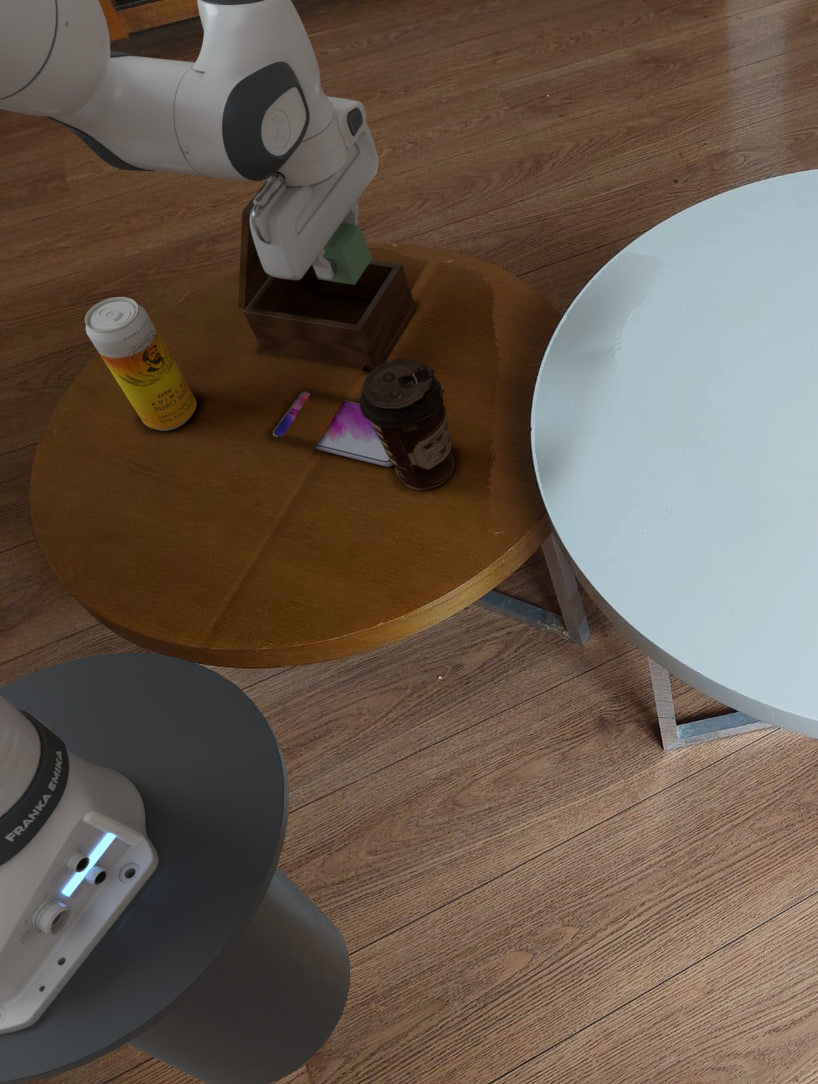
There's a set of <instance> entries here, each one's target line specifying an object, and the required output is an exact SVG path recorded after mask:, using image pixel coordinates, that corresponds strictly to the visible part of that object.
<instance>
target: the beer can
mask: <svg viewBox="0 0 818 1084" xmlns="http://www.w3.org/2000/svg"><path fill="white" fill-rule="evenodd" d="M84 324H85V333H86V335H87V336H88V338H89V340H90V342H92V344H93V346H94V348H95V350H96V351H97V353H98V354H99V355H100V357H101V359H102V360H103V362H104V363H105V365H106V366H107V368H108V370H109V371H110V373H111V374H112V376H113V377H114V379H115V381H116V382H117V384H118V386H119V387H120V389H121V391H123V392H122V393H124V395H125V396H126V398H127V399H128V402H129V403H130V404H131V406H132V407H133V409H134V411H135V412H136V414H137V415H138V417H139V418H140V420H141V422H142V423H143V424H144V425H145V426H146V427H148V428H151V429H154V430H158V431H163V432H167V431H172V430H175V429H177V428H180V427H181V426H183V425H184V424H186V423H187V422H188V421H189V420H190V419H191V417H192V416H193V414H194V413H195V411H196V409H197V405H198V404H197V403H198V402H197V399H196V397H195V395H194V394H193V392H192V390H191V388H190V386H189V384H188V383H187V382H186V379H185V378H184V376H183V374H182V373H181V371H180V369H179V367H178V365H177V363H176V362H175V360H174V358H173V356H172V355H171V353H170V351H169V349H168V348H167V346H166V344H165V342H164V340H163V339H162V337H161V335H160V333H159V331H158V330H157V328H156V327H155V325H154V323H153V321H152V320H151V318H150V315H149V314H148V313H147V310H146V309H145V307H143V306H142V305H141V304H139V303H138V302H136V301H135V300H134V299H133V298H130V297H126V296H116V297H115V296H114V297H109V298H106V299H104V300H101V301H99V302H98V303H96V304H94V305H93V306H91V307H90V309H89V310H88V311H87V312H86V314H85V316H84Z"/></svg>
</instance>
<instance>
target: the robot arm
mask: <svg viewBox="0 0 818 1084" xmlns="http://www.w3.org/2000/svg"><path fill="white" fill-rule="evenodd" d="M196 1H197V8H198V9H197V10H198V13H199V14H198V15H199V18H200V21H201V25H202V29H203V40H202V43H201V44H202V45H201V49H200V52H199V54H198V57H197V59H196V61H195V62H194V61H184V60H174V59H165V58H155V57H146V56H143V55H139V54H134V53H126V52H122V51H115V50H114V51H113V50H112V51H111V38H110V36H111V35H110V30H109V26H108V23H107V18H106V16H105V13H104V11H103V8H102V5H101V4H100V1H99V0H0V110H5V111H9V112H11V113H12V112H13V113H18V114H23V115H29V116H30V115H31V116H38V117H42V118H45V119H47V120H50V121H52V122H55V123H57V124H58V125H60V126H63V127H64V128H66V129H67V130H70V131H71V132H72V133H73V134H74V135H76V136H77V138H79V139H80V140H81V141H82V142H83V143H84V144H85V145H86V146H87V147H88V148H89V149H90V150H91V151H92V152H93V153H94V154H95V155H96V156H98V158H100V159H101V160H102V161H104V162H105V163H107V164H108V165H110V166H111V167H114V168H116V169H119V170H123V171H133V172H134V171H135V172H136V171H137V172H162V173H163V172H164V173H172V174H179V175H188V176H194V177H195V176H196V177H202V178H203V177H204V178H212V179H213V178H214V179H220V180H221V179H222V180H228V181H229V180H230V181H240V182H263V181H268V182H267V183H266V185H265V187H264V188H263V190H262V191H261V192H260V193H258V194H257V196H256V197H255V199H254V201H253V204H254V207H253V209H252V211H251V214H250V228H251V233H252V237H253V240H254V243H255V247H256V250H257V253H258V256H259V258H260V261H261V264H262V266H263V269H264V271H265V272H266V273H267V274H268V275H271V276H273V277H277V278H281V279H288V280H300V279H301V278H302V277H303V276H304V275H305V273H306V272H307V270H308V269H309V268H310V266H311V265H313V267H314V269H315V271H316V274H317V276H318V277H320V278H322V279H329V280H330V279H332V278H333V276H334V274H335V273H336V272H337V267H336V264H335V261H334V259H331V258H324V257H323V256H322V255H324V254H325V251H324V247H325V245H326V244H327V242H328V241H329V239H330V238H331V237H332V235H333V234H334V232H335V231H336V230H337V228H338V227H339V225H340V224H341V223H342V224H348V225H355V226H359V203H358V200H359V199H360V198H361V196H362V195H363V193H364V192H365V191H366V189H367V188H368V186H369V185H370V184H371V182H372V181H373V179H374V178H375V176H377V173H378V170H379V155H378V151H377V148H376V143H375V141H374V138H373V135H372V131H371V129H370V126H369V125H368V124H367V122H366V119H367V113H366V109H365V106H364V104H363V102H361V101H358V100H354V99H348V98H344V97H343V98H342V97H335V96H327V95H326V93H325V92H324V90H323V87H322V84H321V69H320V66H319V63H318V60H317V57H316V55H315V51H314V48H313V46H312V43H311V41H310V38H309V36H308V33H307V31H306V28H305V25H304V24H303V21H302V19H301V17H300V15H299V12H298V11H297V9H296V7H295V5H294V3H293V2H292V0H196ZM158 863H159V857H158V853H157V851H156V849H155V847H154V846H153V844H152V842H151V841H150V839H149V838H148V836H147V832H146V820H145V808H144V804H143V800H142V798H141V795H140V793H139V791H138V790H137V788H136V787H135V785H134V784H133V783H132V782H131V781H130V780H129V779H128V778H127V777H125V776H124V775H122V774H121V773H119V772H117V771H115V770H112V769H109V768H106V767H102V766H98V765H95V764H92V763H90V762H88V761H86V760H84V759H82V758H80V757H78V756H77V755H75V754H73V753H71V752H70V751H68V750H67V749H66V746H65V743H64V742H63V741H62V740H61V739H60V738H59V737H58V736H56V735H55V732H54V731H53V730H52V729H50V728H49V727H48V726H47V725H46V724H44V723H43V722H42V721H40V720H39V719H37V718H36V717H34V716H32V715H31V714H29V713H28V712H26V711H24V710H17V709H16V708H15V707H13V706H12V705H11V704H10V703H9V702H8V701H7V700H6V699H4V698H3V697H2V696H1V695H0V1035H1V1034H6V1033H11V1032H15V1031H18V1030H21V1029H24V1028H27V1027H29V1026H31V1025H33V1024H34V1023H35V1022H36V1021H37V1020H38V1019H39V1018H40V1017H41V1016H42V1014H43V1013H44V1012H45V1010H46V1009H47V1008H48V1007H49V1005H50V1004H51V1003H52V1002H53V1000H54V999H55V998H56V997H57V995H58V994H59V993H60V991H61V990H62V989H63V988H64V986H65V985H66V984H67V982H68V981H69V980H70V979H71V977H72V976H73V975H74V973H75V972H76V971H77V970H78V968H79V967H80V966H81V965H82V963H83V962H84V961H85V959H86V958H87V957H88V956H89V954H90V953H91V952H92V950H93V949H94V948H95V947H96V945H97V944H98V943H99V942H100V940H101V939H102V938H103V936H104V935H105V934H106V933H107V931H108V930H109V929H110V927H111V926H112V925H113V924H114V922H115V921H116V920H117V918H118V917H119V916H120V915H121V913H122V912H123V911H124V910H125V908H126V907H127V906H128V904H129V903H130V902H131V901H132V899H133V898H134V897H135V895H136V894H137V893H138V892H139V890H140V889H141V888H142V887H143V885H144V884H145V883H146V881H147V880H148V879H149V878H150V876H151V875H152V874H153V872H154V871H155V870H156V868H157V866H158ZM134 871H135V875H134V876H133V877H132V878H129V875H130V874H131V873H132V872H134Z"/></svg>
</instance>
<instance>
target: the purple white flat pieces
mask: <svg viewBox="0 0 818 1084" xmlns="http://www.w3.org/2000/svg"><path fill="white" fill-rule="evenodd" d="M310 395H311V392H308V391H304V392H301V393H300V394H299V395H298V397H296V400H294V401H293V403H292V405H291V406H290V408H289V409H288V410H287V412H286V413H285V414H284V416H283V417H282V419H281V420H280V421H279V422H278V424H277V425H276V427H275V428H274V429H273V431H272V435H273V436H274V437H284V436H285V434H286V432H287V431H288V429H290V427H291V425H292V424H293V422H294V420H295V419H296V417H297V416H298V414H299V413H300V411H301V409H302V408H303V406H304V405H305V404H306V402H307V400H308V399H309V397H310ZM314 450H317V451H320V452H324V453H325V452H326V453H329V454H333V455H337V456H341V457H345V458H348V459H352V460H353V459H354V460H356V461H357V460H358V461H362V462H366V463H369V464H373V465H378V466H380V467H387V468H390V467H392V466H394V465H393V464H392V463H391V462H390V460H389V458H388V455H387V454H386V452H385V450H384V447H383V445H382V444H381V442H380V440H379V438H378V436H377V434H376V433H375V429H374V427H373V426H372V424H371V423H370V421H369V420H368V419H366V418H365V417H364V416H363V414H362V412H361V410H360V403H358V402H352V401H348V400H343V401H342V403H341V405H339V408H338V410H337V411H336V413H335V414H334V415H333V418H332V419H331V421H330V422H329V424H328V426H327V427H326V429H325V431H324V432H323V434H322V436H321V437H320V439H319V441H318V443H317V444H316V445H315V447H314Z"/></svg>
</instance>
